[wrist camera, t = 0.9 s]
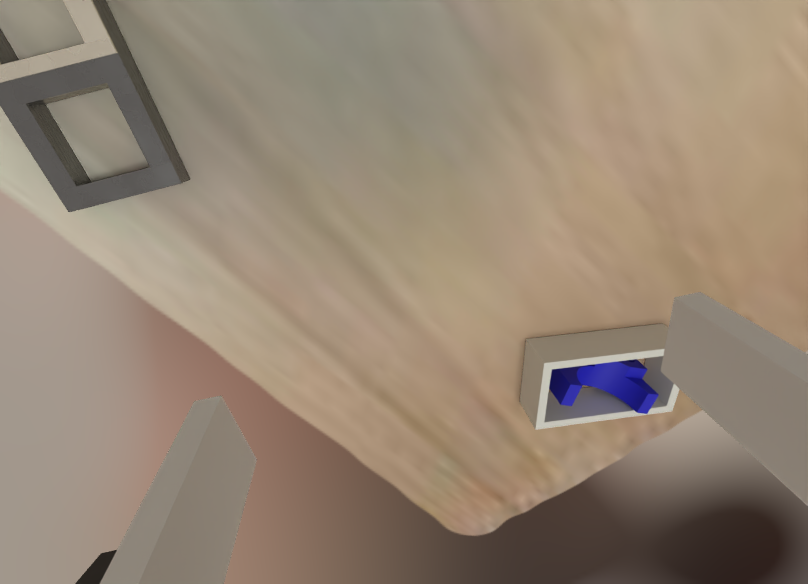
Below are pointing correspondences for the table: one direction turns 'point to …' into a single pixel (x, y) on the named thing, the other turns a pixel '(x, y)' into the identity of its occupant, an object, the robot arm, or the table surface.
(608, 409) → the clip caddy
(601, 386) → the blue arch block
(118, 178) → the grey peg hole board
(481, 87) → the table surface
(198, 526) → the robot arm
